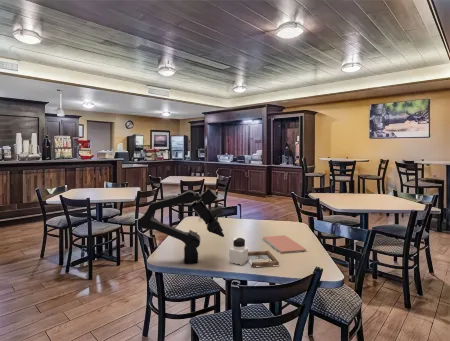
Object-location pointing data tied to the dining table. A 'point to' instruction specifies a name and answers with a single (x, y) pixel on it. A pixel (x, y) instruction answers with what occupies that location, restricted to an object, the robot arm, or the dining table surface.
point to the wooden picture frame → (264, 256)
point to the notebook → (283, 244)
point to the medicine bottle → (238, 252)
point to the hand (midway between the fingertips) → (222, 233)
